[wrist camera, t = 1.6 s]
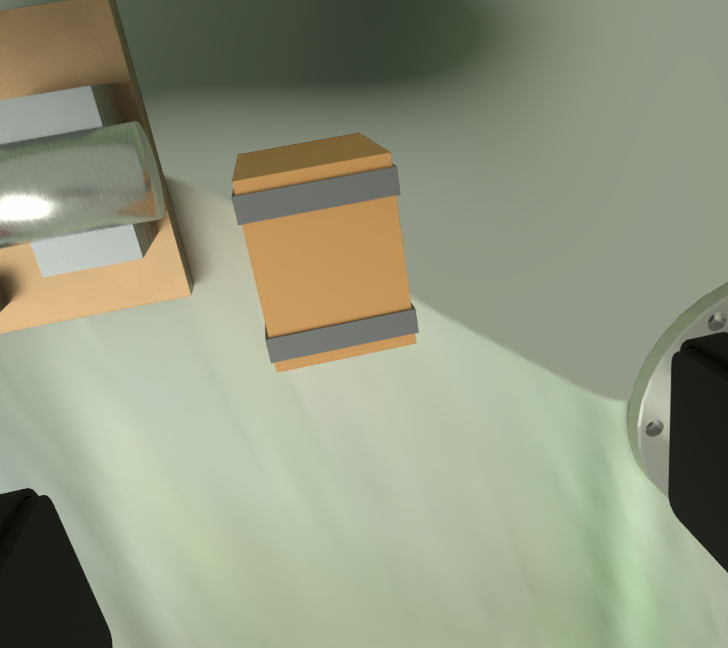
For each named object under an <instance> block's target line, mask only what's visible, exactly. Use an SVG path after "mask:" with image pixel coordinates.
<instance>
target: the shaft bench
mask: <svg viewBox="0 0 728 648" xmlns="http://www.w3.org/2000/svg"><path fill="white" fill-rule="evenodd" d="M193 287H194V284H193V280H192V276H191V273H190V269H189V265H188V262H187V258H186V255H185V251H184V247H183V244H182V240H181V237H180V233H179V229H178V226H177V222H176V218H175V215H174V211H173V208H172V204H171V200H170V197H169V193H168V189H167V186H166V182H165V179H164V175H163V171H162V168H161V164H160V161H159V157H158V153H157V150H156V146H155V142H154V139H153V135H152V132H151V128H150V124H149V121H148V117H147V113H146V110H145V106H144V103H143V99H142V96H141V92H140V88H139V85H138V81H137V77H136V74H135V70H134V67H133V63H132V59H131V56H130V52H129V48H128V45H127V41H126V38H125V34H124V30H123V27H122V23H121V20H120V16H119V12H118V9H117V5H116V1H115V0H67V1H60V2H54V3H47V4H41V5H35V6H29V7H22V8H15V9H9V10H2V11H0V333H4V332H9V331H14V330H19V329H24V328H29V327H34V326H40V325H45V324H50V323H55V322H60V321H65V320H70V319H75V318H80V317H85V316H90V315H95V314H101V313H106V312H111V311H116V310H121V309H126V308H131V307H136V306H141V305H146V304H151V303H156V302H161V301H167V300H172V299H177V298H182V297H187V296H191V294H192V291H193Z"/></svg>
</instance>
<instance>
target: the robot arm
mask: <svg viewBox="0 0 728 648" xmlns="http://www.w3.org/2000/svg"><path fill="white" fill-rule="evenodd" d="M628 432H629V439H630V445H631V449H632V452H633V454H634V456H635V459H636V461H637V464H638V466H639V467H640V468H641V470H642V471H643V472H644V474H645V475H646V476H647V478H648V479H649V480H650V481H651V482H652V483H653V484H654V485H655V486H656V487H657V488H658V489H659V490H660V491H661V492H662V493H663V494H664V495H665V496H666V497H668V498H669V502H670V505H671V508H672V510H673V512H674V514H675V516H676V517H677V518H678V519H679V521H680V522H681V523H682V524H683V525H684V526H685V527H686V528H687V529H688V530H689V531H690V533H691V534H692V535H693V536H694V537H695V538H696V539H697V540H698V541H699V542H700V543H701V544H702V545H703V547H704V548H705V549H706V550H707V551H708V552H709V553H710V554H711V555H712V556H713V557H714V558H715V560H716V561H717V562H718V563H719V564H720V565H721V566H722V567H723V568H724V569H725V570H726V571H727V572H728V283H726V284H724V285H722V286H721V287H719V288H717V289H716V290H714V291H712V292H711V293H709V294H707V295H706V296H704V297H702V298H701V299H700V300H698V301H697V302H696V303H695V304H694V305H692V306H691V307H690V308H689V309H687V310H686V311H685V312H684V313H683V314H681V315H680V316H679V317H678V318H677V319H676V321H675V322H674V323H673V324H672V325H671V326H670V327H669V328H668V329H667V331H666V332H665V333H664V334H663V335H662V336H661V337H660V339H659V340H658V342H657V343H656V345H655V346H654V348H653V349H652V351H651V352H650V354H649V355H648V357H647V358H646V360H645V362H644V365H643V367H642V369H641V371H640V373H639V375H638V378H637V380H636V382H635V385H634V389H633V393H632V397H631V400H630V404H629V416H628ZM0 648H113V647H112V637H111V633H110V630H109V627H108V625H107V623H106V621H105V618H104V616H103V614H102V612H101V610H100V607H99V605H98V603H97V601H96V598H95V596H94V594H93V592H92V589H91V587H90V585H89V583H88V580H87V578H86V576H85V574H84V571H83V569H82V567H81V565H80V562H79V560H78V558H77V556H76V554H75V551H74V549H73V547H72V545H71V542H70V540H69V538H68V536H67V533H66V531H65V529H64V527H63V524H62V522H61V520H60V518H59V515H58V513H57V511H56V509H55V506H54V504H53V502H52V501H51V499H50V498H49V497H48V496H46V495H41V496H38V495H37V493H36V492H35V491H34V490H33V489H29V488H26V489H21V490H17V491H13V492H8V493H4V494H0Z"/></svg>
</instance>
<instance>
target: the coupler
mask: <svg viewBox="0 0 728 648" xmlns="http://www.w3.org/2000/svg"><path fill="white" fill-rule="evenodd" d="M232 184H233V187H234V188H233V193H232V201H233V205H234V209H235V213H236V218H237V222H238V225H242V226H243V231H244V235H245V239H246V243H247V248H248V252H249V256H250V260H251V265H252V269H253V273H254V277H255V282H256V286H257V290H258V294H259V299H260V303H261V307H262V311H263V316H264V320H265V337H266V344H267V348H268V352H269V356H270V361H271V363H275V367H276V371H277V372H282V371H287V370H291V369H296V368H301V367H306V366H311V365H315V364H320V363H325V362H330V361H334V360H339V359H344V358H349V357H353V356H358V355H363V354H368V353H373V352H377V351H382V350H387V349H392V348H396V347H401V346H406V345H411V344H416V337H415V333H419V331H418V324H417V316H416V309H415V308H414V306H413V305H412V303H411V300H410V292H409V285H408V277H407V270H406V262H405V256H404V248H403V240H402V233H401V226H400V218H399V211H398V203H397V196H396V195H400V188H399V180H398V172H397V166H395V165H394V164H392V159H391V153H390V152H389V151H387V150H385V149H384V148H383V147H381V146H379V145H378V144H376V143H374V142H373V141H371V140H370V139H368V138H367V137H365V136H364V135H362V134H360V133H356V134H350V135H344V136H339V137H333V138H328V139H322V140H317V141H311V142H306V143H300V144H294V145H289V146H284V147H278V148H272V149H267V150H261V151H255V152H250V153H245V154H239V155H238V157H237V161H236V166H235V170H234V175H233V179H232Z"/></svg>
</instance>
